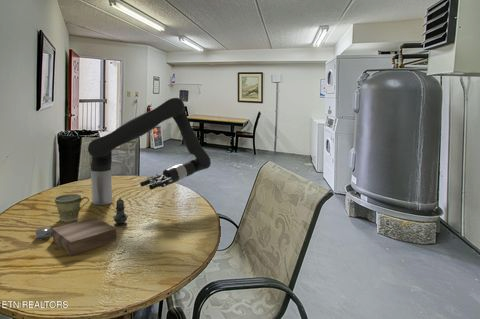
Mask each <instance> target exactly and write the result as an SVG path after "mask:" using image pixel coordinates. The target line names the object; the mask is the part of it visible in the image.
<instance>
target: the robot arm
mask: <svg viewBox="0 0 480 319" xmlns="http://www.w3.org/2000/svg"><path fill="white" fill-rule="evenodd" d="M185 107H186V106H185V103H184V101H183V100H182V99H181V98H180V97H174V96H173V97H170V98H168V99H166V100H165V101H164V102H163V103H162V104H160V105H159V106H157V107H155V108H153V109H151V110H148V111H147V112H144V113H142V114H139V115H138V116H135V117H133V118H132V119H130V120H128V121H127V122H125V123H123V124H122V125H121V126H118V128H116V129H115V130H113V131H112V132H110V133H108V134H105V135H103V136H101V137H96V138H94V139H93V140H91V141H90V142H89V144H88V146H87V151H88V154H89V155H90V156H91V164H90V178H91V181H90V182H91V200H92V204H93V205H95V206H105V205H106V206H107V205H110V204H111V203H113V191H112V190H113V186H112V183H113V182H112V161H113V160H112V159H113V157H112V154H113V153H112V151H113V150H115V149H117V148H118V147H120V146H122V145H124V144H126V143H129V142H131V141H133V140H136V139H138V138H140V137H142V136H144V135H145V134H147V133H150V132H151V131H152V130H154V129H155V128H156V127H158V125H160V124H161V123H163V122H164V121H166V120H169V119H171V118H172V119H173V120H174V122H175V124H176V125H177V128H178V130H179V132H180V135H181V137H182V141H183V142H184V144H185V147H186V149H187V151H188V152H189V154H190V155H193V156H194V157H195V158H193V159H190V160H188V161H185V162H181V163H179V164H176V165H173V166H171V167H168V168H165V169H164V170H163V171H162V174H158V173H156V174H152V175H150V176H148V177H146V179H145V180H142V181H141V182H139V185H140V187H146V186H148V187H149V190H154V189H156V188H164V187H166V186H168V185H172V184H174V183H176V182H180V181H182V180H183V179H185V178H187V177H190V176H192V175H193V174H194V173H197V172H200V171H202V170H206V169H208V168H210V167H211V158H210V156H209V154H208V153H207V152H206V151H205V149H204V148H203V146H201V145H202V144H201V142H200V141H199V139H198V137H197V134H196V132H195V131H194V129H193V127H192V126H191V123H190V121H189V118H188V116H187V112H186V109H185Z"/></svg>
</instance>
